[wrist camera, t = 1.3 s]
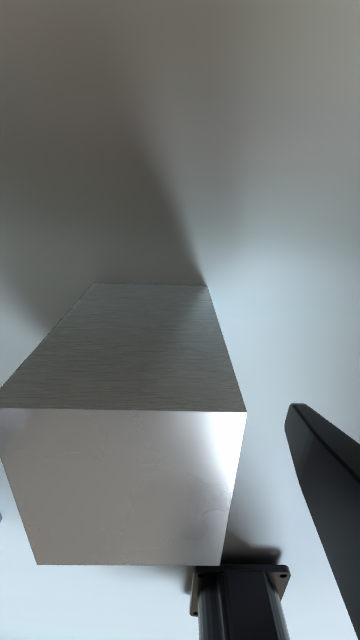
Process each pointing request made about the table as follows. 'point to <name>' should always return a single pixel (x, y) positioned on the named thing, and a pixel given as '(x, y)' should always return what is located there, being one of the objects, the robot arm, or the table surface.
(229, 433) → the block
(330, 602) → the table surface
